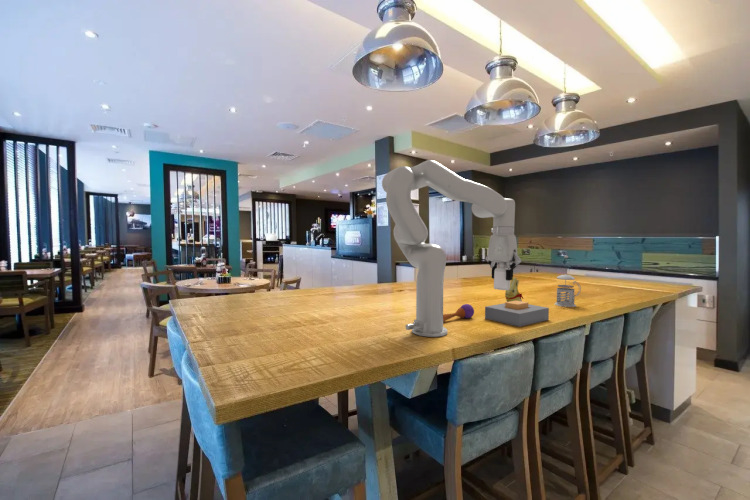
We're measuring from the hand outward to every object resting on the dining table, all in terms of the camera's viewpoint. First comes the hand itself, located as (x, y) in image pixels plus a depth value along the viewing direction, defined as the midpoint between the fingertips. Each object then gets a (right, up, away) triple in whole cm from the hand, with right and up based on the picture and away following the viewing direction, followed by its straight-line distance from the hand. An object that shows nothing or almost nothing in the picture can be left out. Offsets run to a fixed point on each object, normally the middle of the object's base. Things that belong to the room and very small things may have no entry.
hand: (501, 278), depth 130 cm
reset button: (+11, -14, +12) cm, 21 cm away
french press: (+48, -17, +42) cm, 67 cm away
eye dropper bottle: (0, -4, 0) cm, 4 cm away
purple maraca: (-15, -18, +11) cm, 26 cm away
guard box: (+11, -18, +12) cm, 24 cm away
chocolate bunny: (+18, -17, +33) cm, 42 cm away
